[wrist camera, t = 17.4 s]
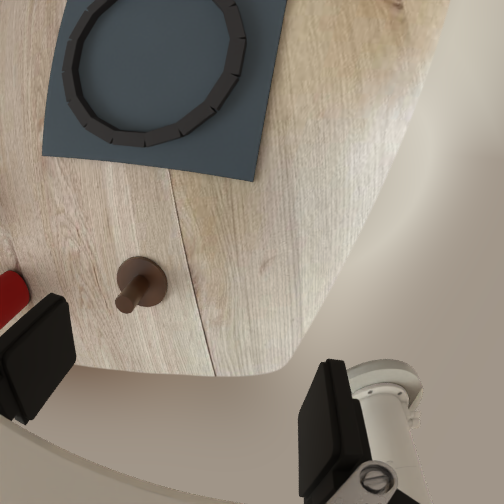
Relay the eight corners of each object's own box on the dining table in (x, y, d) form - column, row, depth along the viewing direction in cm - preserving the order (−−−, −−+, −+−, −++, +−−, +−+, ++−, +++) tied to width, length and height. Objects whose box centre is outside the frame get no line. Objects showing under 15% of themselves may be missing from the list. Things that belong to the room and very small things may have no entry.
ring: (261, -23, 25) (260, -29, 23) (226, 157, 33) (224, 158, 32) (90, -17, 25) (84, -21, 23) (60, 139, 33) (53, 141, 32)
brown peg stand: (169, 262, 39) (152, 284, 33) (166, 309, 41) (152, 335, 36) (118, 251, 39) (96, 271, 33) (119, 298, 41) (100, 321, 36)
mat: (293, -31, 25) (293, -33, 24) (253, 181, 34) (252, 182, 34) (77, -25, 25) (75, -26, 24) (44, 155, 34) (41, 155, 34)
